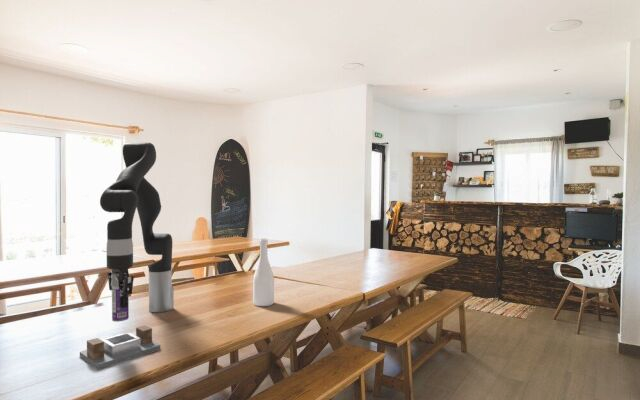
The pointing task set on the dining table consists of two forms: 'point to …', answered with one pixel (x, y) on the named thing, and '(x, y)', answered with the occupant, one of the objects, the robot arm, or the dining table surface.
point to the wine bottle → (263, 279)
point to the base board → (119, 355)
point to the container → (118, 303)
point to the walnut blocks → (97, 346)
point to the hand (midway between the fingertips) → (120, 305)
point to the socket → (121, 343)
